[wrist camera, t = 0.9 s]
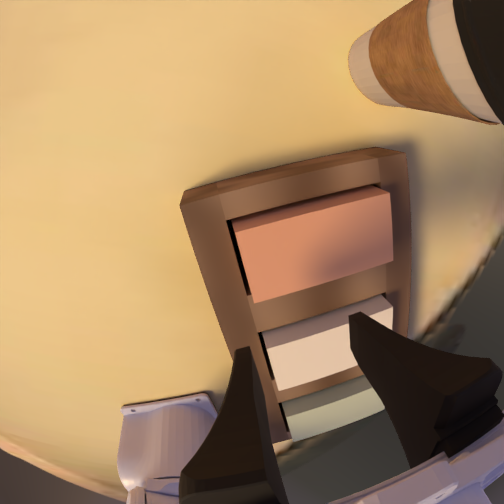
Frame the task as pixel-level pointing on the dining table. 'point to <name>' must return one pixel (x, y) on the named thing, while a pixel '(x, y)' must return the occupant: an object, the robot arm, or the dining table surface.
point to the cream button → (319, 343)
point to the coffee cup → (436, 59)
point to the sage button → (331, 408)
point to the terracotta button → (314, 240)
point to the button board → (310, 299)
